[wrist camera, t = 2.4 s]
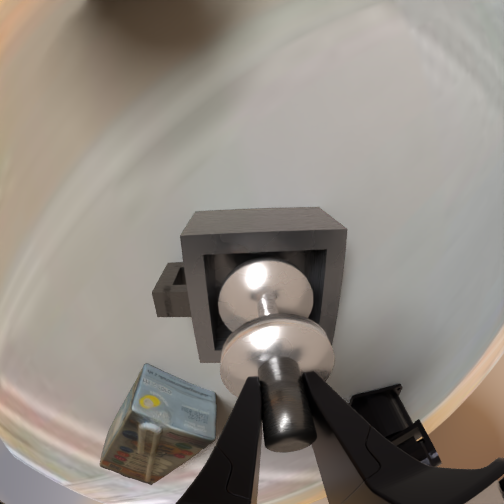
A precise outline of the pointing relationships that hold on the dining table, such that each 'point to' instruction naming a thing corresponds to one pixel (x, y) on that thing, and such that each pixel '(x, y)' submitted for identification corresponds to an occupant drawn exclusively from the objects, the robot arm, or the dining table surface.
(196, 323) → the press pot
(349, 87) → the dining table surface
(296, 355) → the plunger
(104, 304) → the dining table surface
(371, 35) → the dining table surface
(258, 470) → the robot arm
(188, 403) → the beverage carton
